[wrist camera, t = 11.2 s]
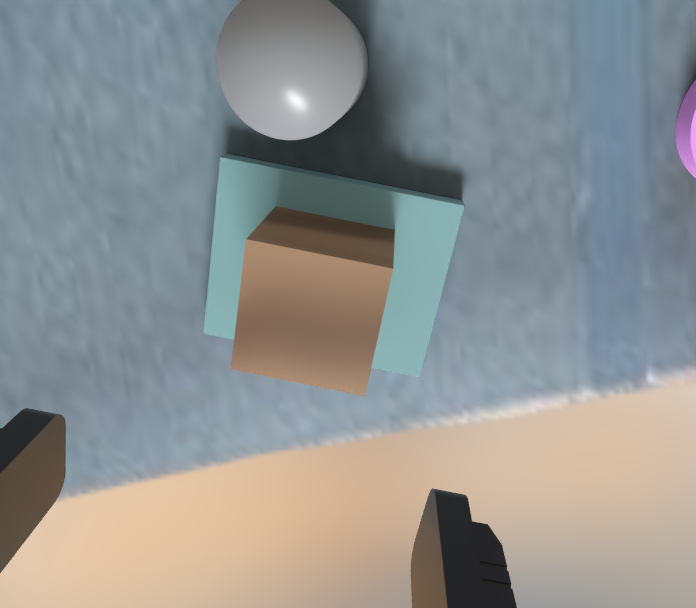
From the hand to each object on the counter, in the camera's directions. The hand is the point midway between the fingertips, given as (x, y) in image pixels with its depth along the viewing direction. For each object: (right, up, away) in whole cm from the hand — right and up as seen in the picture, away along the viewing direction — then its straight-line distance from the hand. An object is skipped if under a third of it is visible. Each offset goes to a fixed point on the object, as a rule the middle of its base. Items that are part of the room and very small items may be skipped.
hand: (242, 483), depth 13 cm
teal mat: (+1, +6, +13) cm, 15 cm away
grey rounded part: (+1, +13, +10) cm, 17 cm away
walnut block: (+1, +5, +12) cm, 14 cm away
